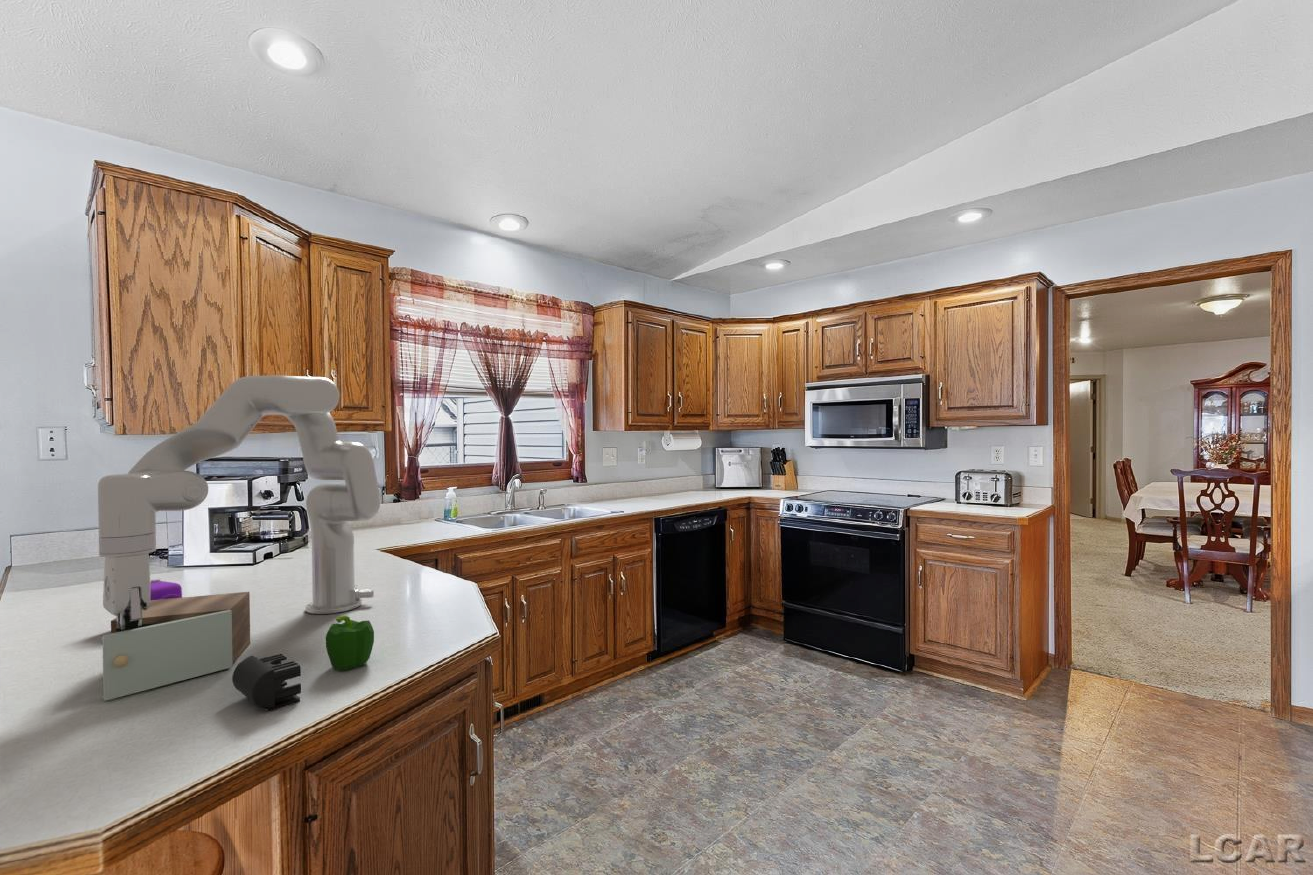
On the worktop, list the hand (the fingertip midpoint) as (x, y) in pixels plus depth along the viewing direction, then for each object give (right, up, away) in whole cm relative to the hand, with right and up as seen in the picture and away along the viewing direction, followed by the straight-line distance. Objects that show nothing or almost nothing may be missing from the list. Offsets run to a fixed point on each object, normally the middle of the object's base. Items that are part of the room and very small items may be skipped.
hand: (129, 649), depth 106 cm
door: (+6, -6, +1) cm, 9 cm away
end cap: (+28, -7, -6) cm, 29 cm away
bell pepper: (+34, -7, +9) cm, 35 cm away
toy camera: (-25, -7, +35) cm, 44 cm away
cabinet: (0, -7, +13) cm, 14 cm away
